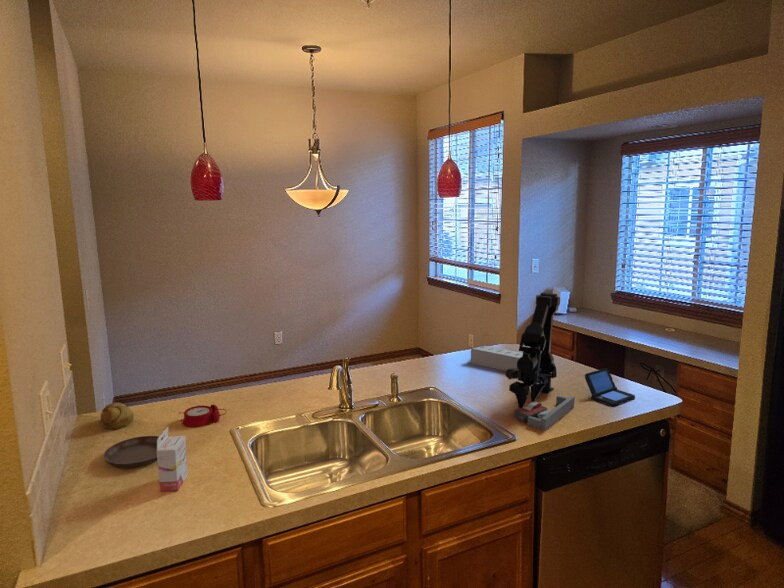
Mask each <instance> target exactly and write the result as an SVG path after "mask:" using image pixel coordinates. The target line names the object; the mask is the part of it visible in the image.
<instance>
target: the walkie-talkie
mask: <svg viewBox="0 0 784 588" xmlns="http://www.w3.org/2000/svg"><path fill="white" fill-rule="evenodd" d="M550 411H551V410H548V408H547V406H544V405H542V403H540V402H537V401H534V402H530V403H528V404H527V405H524V406H523V407H522V408H519V407H518V408H517V409H515V410H514V411H513V414H514V415H513V417H514V419H516V420H518V421H521V422H523V423H526V424H528V417H529V416H532V417H535V418H539V419H541V418H542V417H544V416H545V415H546V414H548V413H549V412H550Z"/></svg>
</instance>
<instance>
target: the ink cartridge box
mask: <svg viewBox="0 0 784 588" xmlns="http://www.w3.org/2000/svg"><path fill="white" fill-rule="evenodd" d="M158 436H159V438H158V439H157V461H156V462H157V471H158V483H159V492H178V491H179V490H180V488H181V486H182V485H183V483H184V481H185V479H186V478H187V477H188V475H189V474H188V473H189V471H188V460H187V459H188V458H187V444H186V436H185V435H179V436H177V435H176V436H169V427H168V426H166V429H164V430H163V432H162V433H161V434H160V435H158ZM162 437H163V439H162ZM161 439H162V440H161Z"/></svg>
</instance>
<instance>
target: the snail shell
mask: <svg viewBox="0 0 784 588" xmlns="http://www.w3.org/2000/svg"><path fill="white" fill-rule="evenodd" d="M133 420H134V413H133V411H132V410H131V408H130V407H128V406H127V405H125V404H124V403H121V402H112V403H109V404H107V405H106V406H105V407H104V408H103V409H102V411H101V412H100V422H101V424H102V425H103V426H104V428H106V429H109V430H117V429H118V430H119V429H121V428H125V427H127V426H128V425H130V424H131V423H132V422H133Z"/></svg>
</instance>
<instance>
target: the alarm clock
mask: <svg viewBox="0 0 784 588" xmlns="http://www.w3.org/2000/svg"><path fill="white" fill-rule="evenodd" d="M220 410H222V411H225V413H222V414H221V413H220ZM227 413H228V412H227V410H226V408H218V406H217V405H216V404H213V403H212V404H210V405H209V406H208V405H196V406H191V407H189V408H187V409H185V410H184V412H183V419H180V422H181V425H183V426H185V427H187V428H199V427H200V428H201V427H205V426H207V425H211V424H212V423H213V422H214V423H218V422H219V421H220V417H221V416H224V415H226V414H227ZM178 414H181V411H180V412H178Z"/></svg>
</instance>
